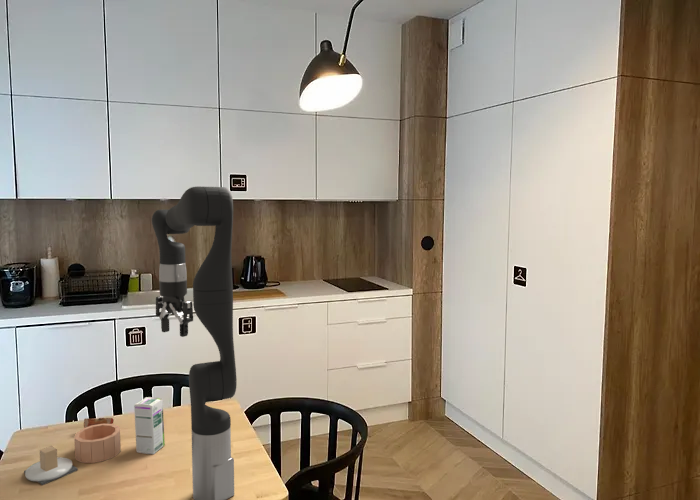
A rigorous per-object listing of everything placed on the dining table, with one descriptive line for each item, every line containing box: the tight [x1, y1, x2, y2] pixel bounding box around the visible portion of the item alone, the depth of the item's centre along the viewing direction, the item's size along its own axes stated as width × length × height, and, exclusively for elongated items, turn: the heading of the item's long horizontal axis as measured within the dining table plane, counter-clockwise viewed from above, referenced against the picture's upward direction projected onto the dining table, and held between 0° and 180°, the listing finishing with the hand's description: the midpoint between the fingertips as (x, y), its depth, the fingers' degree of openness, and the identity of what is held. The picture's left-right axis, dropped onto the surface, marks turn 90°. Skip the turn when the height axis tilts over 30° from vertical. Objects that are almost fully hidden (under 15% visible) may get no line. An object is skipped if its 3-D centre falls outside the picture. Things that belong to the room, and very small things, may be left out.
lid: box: [24, 445, 73, 482], centre depth 139 cm, size 11×11×6 cm
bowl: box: [73, 423, 122, 464], centre depth 150 cm, size 12×12×6 cm
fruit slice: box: [83, 417, 114, 428], centre depth 163 cm, size 8×7×5 cm
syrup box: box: [133, 396, 166, 455], centre depth 152 cm, size 6×6×14 cm
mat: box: [23, 464, 79, 486], centre depth 140 cm, size 10×9×1 cm
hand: (174, 333), depth 154 cm, fingers open, 8 cm apart
